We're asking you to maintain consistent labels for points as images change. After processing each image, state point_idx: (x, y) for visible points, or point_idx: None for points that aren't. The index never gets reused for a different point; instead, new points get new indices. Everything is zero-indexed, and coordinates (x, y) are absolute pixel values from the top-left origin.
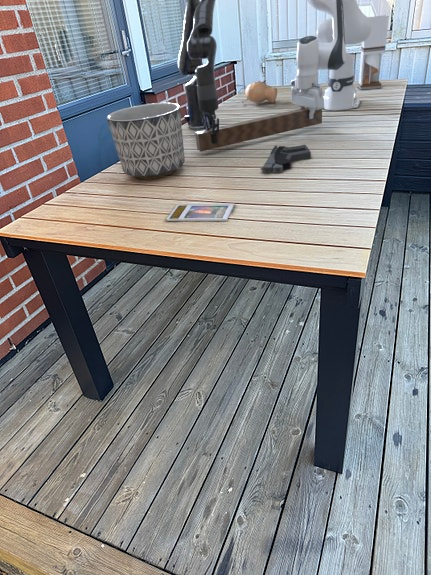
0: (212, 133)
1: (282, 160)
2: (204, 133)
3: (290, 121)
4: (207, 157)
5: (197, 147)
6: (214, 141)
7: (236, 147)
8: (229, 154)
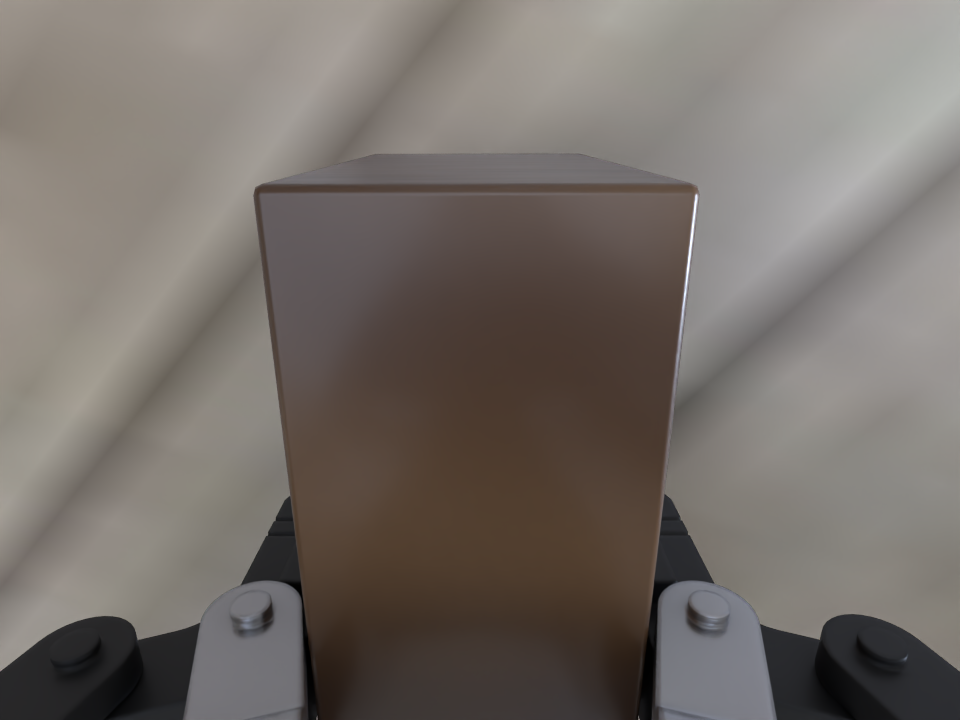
0: (211, 622)
1: None
2: (288, 432)
3: None
4: None
5: (553, 155)
6: (290, 510)
7: None
8: (231, 538)
